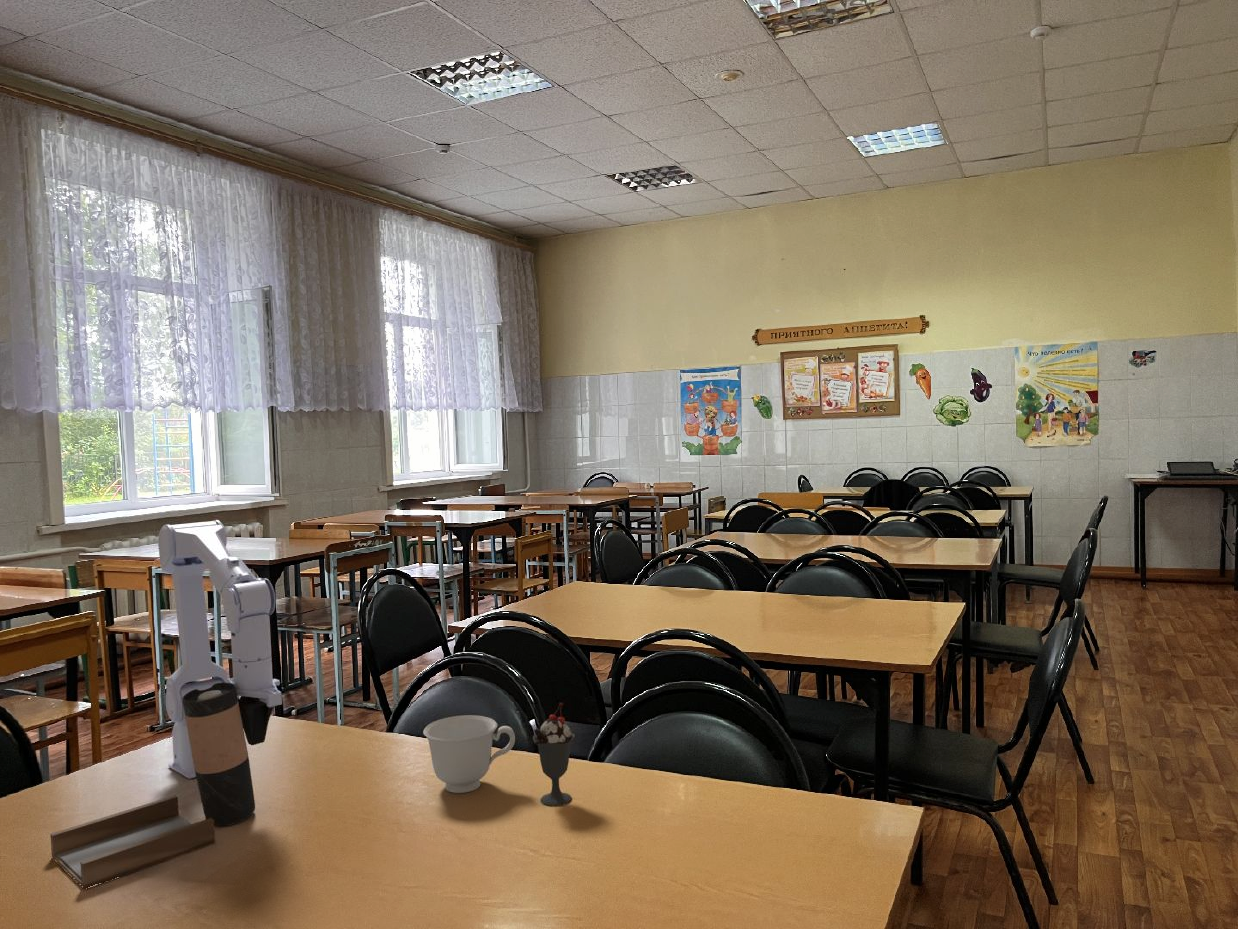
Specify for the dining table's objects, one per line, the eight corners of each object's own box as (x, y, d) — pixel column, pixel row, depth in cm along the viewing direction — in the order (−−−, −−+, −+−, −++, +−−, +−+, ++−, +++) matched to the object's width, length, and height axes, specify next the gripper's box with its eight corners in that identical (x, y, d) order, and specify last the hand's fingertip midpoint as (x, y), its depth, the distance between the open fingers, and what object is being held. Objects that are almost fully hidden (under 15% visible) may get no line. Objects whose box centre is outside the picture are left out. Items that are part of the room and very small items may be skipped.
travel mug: (238, 828, 135) (215, 701, 132) (193, 828, 136) (169, 702, 134) (267, 802, 142) (246, 681, 140) (224, 802, 144) (202, 682, 141)
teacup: (511, 800, 142) (509, 738, 142) (417, 802, 143) (415, 740, 142) (521, 771, 154) (519, 713, 154) (434, 773, 155) (432, 715, 154)
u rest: (51, 858, 128) (50, 834, 128) (176, 817, 140) (175, 795, 140) (84, 890, 118) (82, 864, 118) (215, 843, 131) (213, 819, 130)
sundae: (579, 791, 145) (576, 699, 144) (573, 809, 138) (570, 712, 138) (539, 791, 146) (536, 699, 145) (531, 808, 139) (527, 712, 138)
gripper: (298, 659, 140) (302, 745, 140) (255, 646, 149) (259, 726, 150) (254, 669, 134) (258, 759, 135) (212, 655, 144) (217, 738, 145)
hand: (256, 743), depth 142 cm, fingers closed, pressing on travel mug
